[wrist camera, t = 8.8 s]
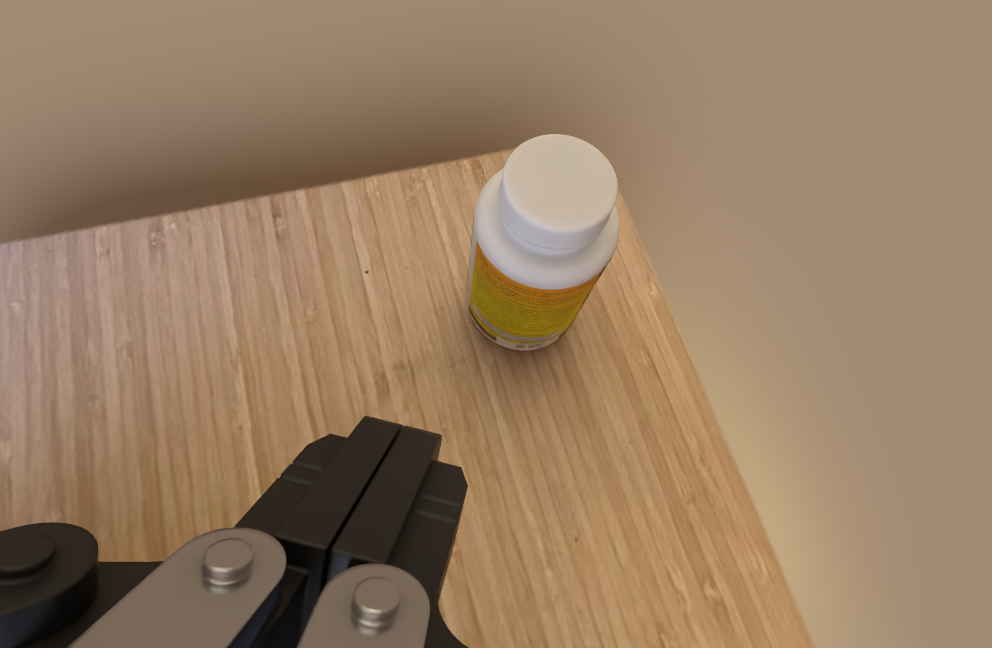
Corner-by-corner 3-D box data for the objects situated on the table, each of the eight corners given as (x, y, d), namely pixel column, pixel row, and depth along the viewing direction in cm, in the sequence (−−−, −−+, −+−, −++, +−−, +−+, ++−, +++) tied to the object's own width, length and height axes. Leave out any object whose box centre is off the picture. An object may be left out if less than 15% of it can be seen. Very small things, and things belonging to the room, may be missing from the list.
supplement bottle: (579, 353, 27) (653, 254, 17) (467, 355, 26) (480, 253, 17) (569, 253, 29) (630, 116, 19) (464, 253, 28) (475, 111, 19)
